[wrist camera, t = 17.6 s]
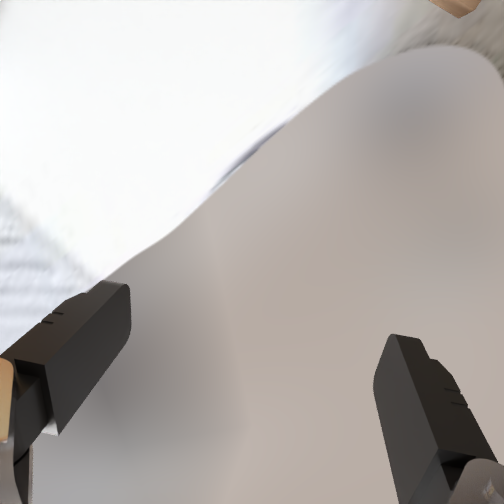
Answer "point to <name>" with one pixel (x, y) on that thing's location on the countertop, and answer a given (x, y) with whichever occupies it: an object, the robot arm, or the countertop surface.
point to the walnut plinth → (457, 6)
